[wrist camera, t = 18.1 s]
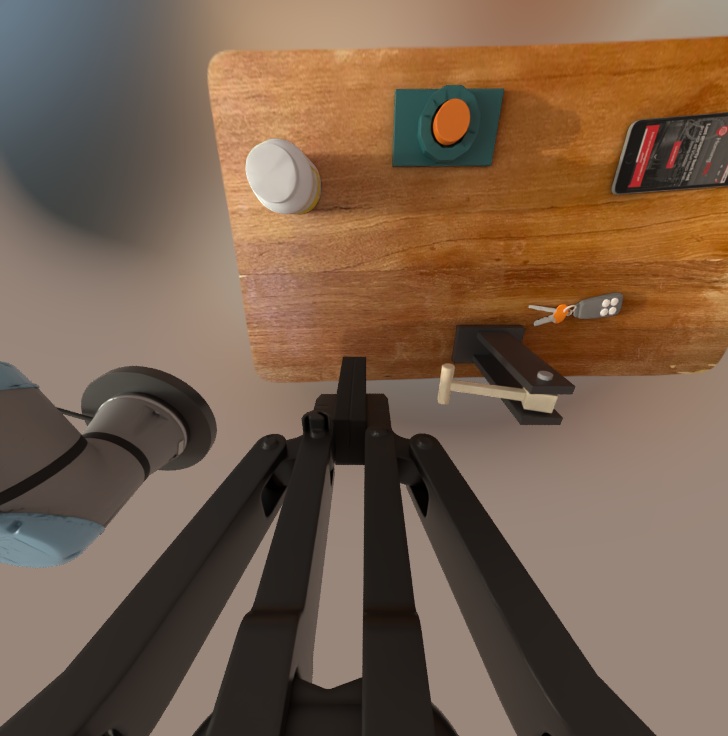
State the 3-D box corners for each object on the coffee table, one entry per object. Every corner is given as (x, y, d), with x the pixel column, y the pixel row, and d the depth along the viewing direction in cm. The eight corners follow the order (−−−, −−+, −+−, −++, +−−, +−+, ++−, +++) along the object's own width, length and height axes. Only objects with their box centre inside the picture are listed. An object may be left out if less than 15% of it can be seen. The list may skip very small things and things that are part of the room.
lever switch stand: (451, 359, 48) (493, 428, 32) (456, 324, 45) (506, 381, 29) (511, 359, 47) (584, 428, 32) (520, 324, 45) (605, 382, 29)
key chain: (618, 289, 42) (627, 291, 41) (613, 313, 44) (621, 316, 42) (527, 304, 43) (533, 307, 42) (526, 327, 45) (530, 330, 44)
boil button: (431, 145, 33) (434, 141, 31) (434, 104, 31) (438, 98, 30) (462, 145, 33) (467, 141, 31) (467, 104, 31) (473, 98, 29)
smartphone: (634, 119, 32) (772, 108, 32) (629, 121, 33) (764, 110, 33) (612, 194, 36) (737, 185, 35) (608, 195, 36) (730, 186, 36)
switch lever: (437, 395, 37) (436, 405, 35) (442, 360, 34) (441, 369, 32) (542, 411, 34) (548, 423, 32) (555, 374, 31) (562, 384, 29)
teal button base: (392, 166, 35) (394, 163, 33) (395, 91, 32) (397, 82, 30) (489, 166, 35) (497, 162, 33) (501, 90, 32) (511, 81, 30)
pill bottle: (264, 161, 35) (222, 138, 25) (314, 148, 35) (293, 118, 24) (281, 219, 38) (250, 220, 28) (328, 208, 38) (314, 204, 27)
